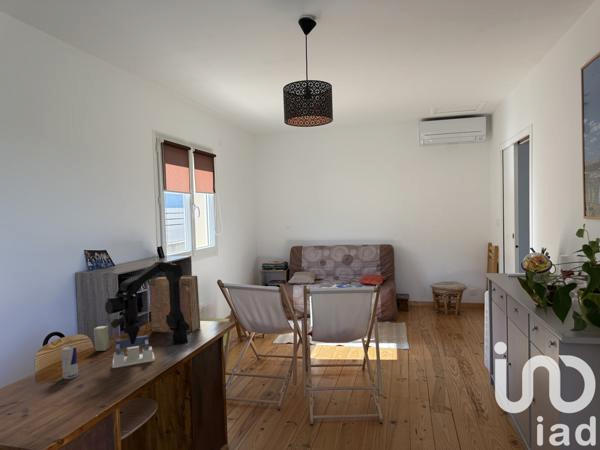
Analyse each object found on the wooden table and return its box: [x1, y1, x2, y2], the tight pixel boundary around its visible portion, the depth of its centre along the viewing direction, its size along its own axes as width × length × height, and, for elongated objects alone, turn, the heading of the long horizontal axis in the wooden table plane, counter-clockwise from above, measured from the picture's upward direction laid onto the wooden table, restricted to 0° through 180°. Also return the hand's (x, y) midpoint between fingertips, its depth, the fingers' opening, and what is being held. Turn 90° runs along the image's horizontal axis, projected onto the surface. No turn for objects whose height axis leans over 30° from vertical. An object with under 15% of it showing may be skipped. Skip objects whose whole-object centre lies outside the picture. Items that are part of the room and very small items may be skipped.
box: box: [93, 325, 111, 352], centre depth 202 cm, size 5×4×11 cm
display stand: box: [111, 345, 155, 369], centre depth 183 cm, size 10×17×5 cm, turn 113°
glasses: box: [115, 335, 150, 355], centre depth 181 cm, size 10×13×4 cm
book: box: [147, 275, 201, 334], centre depth 229 cm, size 25×9×30 cm, turn 74°
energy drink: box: [60, 345, 79, 380], centre depth 168 cm, size 5×5×12 cm
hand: (132, 343), depth 185 cm, fingers closed on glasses, 2 cm apart
